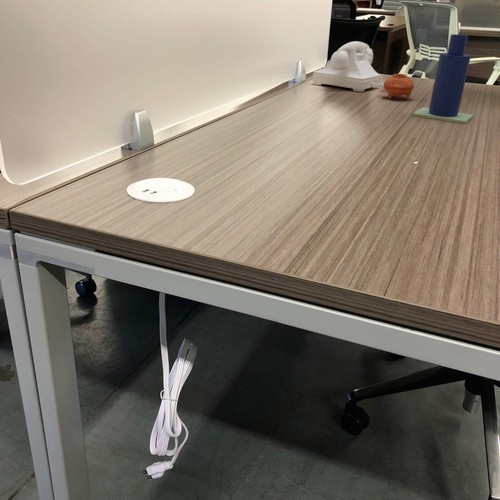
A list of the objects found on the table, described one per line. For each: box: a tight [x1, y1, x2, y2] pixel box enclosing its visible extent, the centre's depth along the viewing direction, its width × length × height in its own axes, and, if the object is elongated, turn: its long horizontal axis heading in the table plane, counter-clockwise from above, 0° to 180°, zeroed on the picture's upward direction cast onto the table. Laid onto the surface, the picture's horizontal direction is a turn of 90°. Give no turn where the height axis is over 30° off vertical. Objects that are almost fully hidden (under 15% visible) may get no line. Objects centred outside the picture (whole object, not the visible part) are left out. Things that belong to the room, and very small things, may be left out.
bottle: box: [429, 33, 472, 117], centre depth 114 cm, size 6×6×17 cm
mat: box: [411, 107, 475, 125], centre depth 118 cm, size 12×8×1 cm, turn 56°
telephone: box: [311, 40, 385, 93], centre depth 148 cm, size 25×21×12 cm
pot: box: [383, 73, 415, 100], centre depth 135 cm, size 8×8×7 cm
